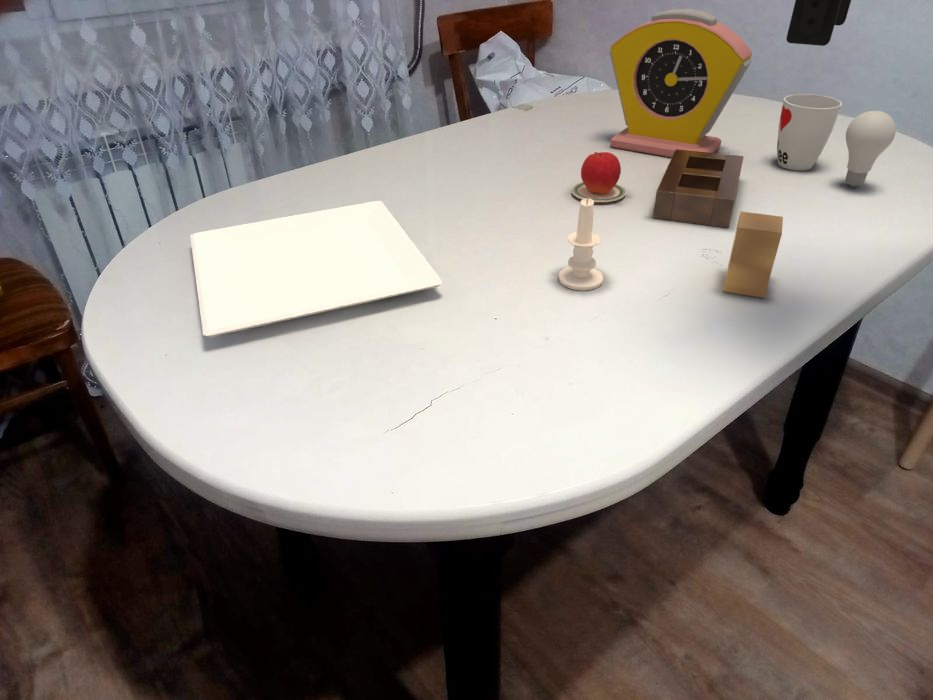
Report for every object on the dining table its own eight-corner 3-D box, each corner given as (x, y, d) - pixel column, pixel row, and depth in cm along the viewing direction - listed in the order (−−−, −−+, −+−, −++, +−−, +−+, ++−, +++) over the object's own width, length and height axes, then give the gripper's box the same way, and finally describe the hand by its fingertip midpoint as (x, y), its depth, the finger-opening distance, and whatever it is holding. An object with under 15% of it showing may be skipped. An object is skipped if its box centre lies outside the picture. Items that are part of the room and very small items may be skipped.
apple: (563, 199, 97) (566, 156, 93) (581, 180, 103) (585, 139, 99) (616, 208, 94) (621, 164, 90) (632, 189, 100) (637, 146, 96)
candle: (593, 294, 75) (602, 209, 69) (551, 284, 77) (556, 201, 71) (609, 274, 79) (618, 192, 73) (568, 265, 81) (574, 184, 75)
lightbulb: (855, 197, 95) (881, 120, 89) (821, 183, 100) (843, 109, 93) (885, 190, 97) (912, 113, 91) (850, 176, 102) (874, 103, 95)
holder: (738, 181, 101) (743, 155, 99) (728, 228, 88) (734, 200, 86) (671, 173, 104) (675, 149, 102) (652, 217, 91) (656, 190, 89)
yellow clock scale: (594, 145, 116) (606, 9, 104) (615, 130, 123) (629, 1, 110) (720, 167, 106) (750, 19, 94) (736, 150, 112) (766, 10, 100)
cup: (770, 153, 111) (786, 92, 105) (823, 160, 108) (842, 96, 102) (765, 169, 105) (781, 105, 99) (821, 177, 102) (841, 110, 96)
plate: (193, 246, 88) (189, 232, 86) (382, 212, 95) (380, 198, 94) (208, 351, 68) (202, 334, 67) (444, 297, 75) (444, 281, 74)
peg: (765, 280, 77) (783, 216, 72) (764, 298, 73) (782, 232, 69) (726, 273, 78) (740, 210, 73) (722, 291, 75) (737, 227, 70)
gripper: (946, -253, 39) (852, 57, 49) (950, -225, 51) (874, 20, 61) (809, -240, 42) (748, 48, 52) (843, -216, 54) (788, 14, 64)
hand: (816, 33), depth 56 cm, fingers open, 9 cm apart
